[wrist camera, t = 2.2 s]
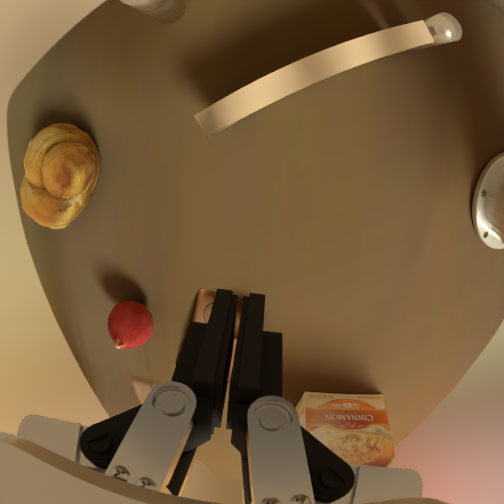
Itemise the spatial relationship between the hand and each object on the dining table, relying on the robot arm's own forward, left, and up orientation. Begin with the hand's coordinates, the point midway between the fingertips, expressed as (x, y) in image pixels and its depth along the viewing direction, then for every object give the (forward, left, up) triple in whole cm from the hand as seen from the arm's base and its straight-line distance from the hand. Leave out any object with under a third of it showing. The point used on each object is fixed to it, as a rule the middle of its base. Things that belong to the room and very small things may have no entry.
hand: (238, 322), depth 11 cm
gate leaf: (-3, -11, -19) cm, 22 cm away
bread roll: (+22, 0, -19) cm, 29 cm away
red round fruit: (+14, +18, -19) cm, 30 cm away
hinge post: (-12, -17, -19) cm, 28 cm away
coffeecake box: (-18, +36, -19) cm, 45 cm away
